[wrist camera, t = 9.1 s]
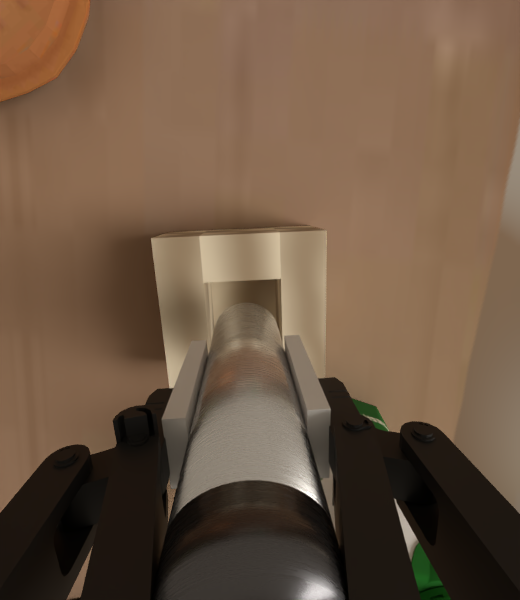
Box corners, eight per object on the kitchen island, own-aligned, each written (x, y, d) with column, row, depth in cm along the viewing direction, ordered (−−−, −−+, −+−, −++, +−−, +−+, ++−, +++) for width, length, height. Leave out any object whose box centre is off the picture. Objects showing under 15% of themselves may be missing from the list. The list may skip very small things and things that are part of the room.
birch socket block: (183, 361, 32) (170, 396, 26) (169, 232, 29) (150, 238, 23) (310, 354, 33) (325, 386, 27) (309, 225, 29) (326, 230, 24)
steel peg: (216, 364, 22) (152, 743, 6) (211, 304, 21) (120, 587, 5) (279, 360, 22) (361, 724, 7) (277, 300, 21) (371, 567, 6)
